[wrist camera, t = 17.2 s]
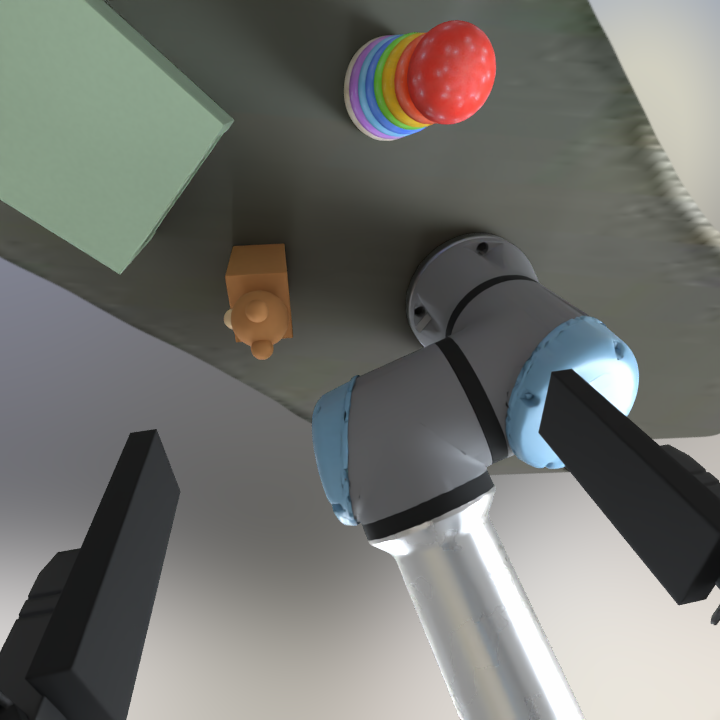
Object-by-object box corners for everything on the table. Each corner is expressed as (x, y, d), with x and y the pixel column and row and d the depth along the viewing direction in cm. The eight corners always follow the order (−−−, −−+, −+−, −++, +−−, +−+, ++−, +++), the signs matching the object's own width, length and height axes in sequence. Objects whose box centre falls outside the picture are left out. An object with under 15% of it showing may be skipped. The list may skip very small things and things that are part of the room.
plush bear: (284, 243, 44) (289, 295, 32) (289, 300, 48) (295, 366, 36) (228, 246, 44) (212, 300, 32) (237, 304, 47) (226, 373, 35)
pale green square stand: (234, 120, 38) (224, 125, 30) (150, 240, 42) (119, 274, 34) (86, -14, 32) (21, -56, 24) (4, 140, 36) (-78, 151, 28)
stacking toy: (434, 125, 41) (536, 138, 25) (355, 150, 41) (408, 180, 25) (419, 24, 37) (530, -35, 21) (331, 52, 37) (376, 14, 21)
